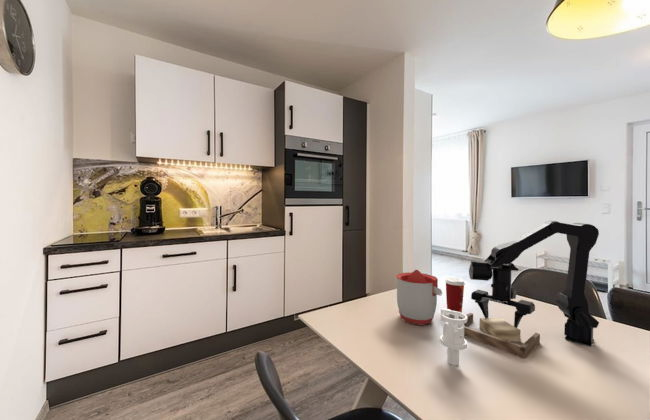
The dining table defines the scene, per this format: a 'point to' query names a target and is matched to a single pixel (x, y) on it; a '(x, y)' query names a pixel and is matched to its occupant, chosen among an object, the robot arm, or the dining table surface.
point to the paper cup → (454, 294)
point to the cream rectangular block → (500, 329)
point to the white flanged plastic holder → (453, 334)
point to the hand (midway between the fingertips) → (500, 324)
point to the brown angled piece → (501, 340)
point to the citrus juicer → (417, 297)
